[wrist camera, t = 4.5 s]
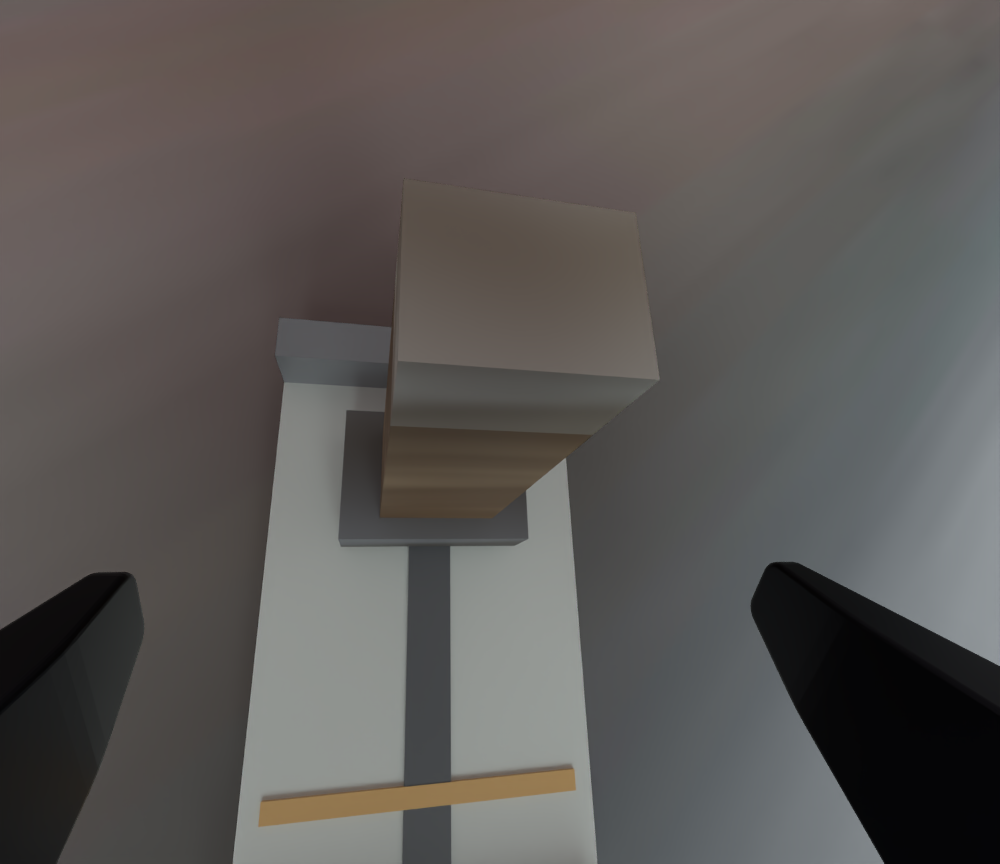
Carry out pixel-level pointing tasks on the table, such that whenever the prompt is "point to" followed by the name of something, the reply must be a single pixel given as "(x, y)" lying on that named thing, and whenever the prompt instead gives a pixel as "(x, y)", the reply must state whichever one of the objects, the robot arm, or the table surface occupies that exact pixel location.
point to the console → (406, 662)
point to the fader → (493, 363)
